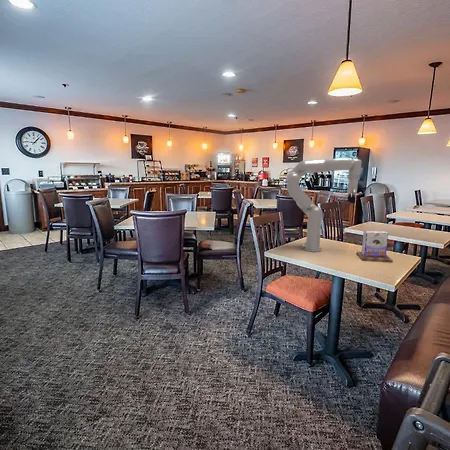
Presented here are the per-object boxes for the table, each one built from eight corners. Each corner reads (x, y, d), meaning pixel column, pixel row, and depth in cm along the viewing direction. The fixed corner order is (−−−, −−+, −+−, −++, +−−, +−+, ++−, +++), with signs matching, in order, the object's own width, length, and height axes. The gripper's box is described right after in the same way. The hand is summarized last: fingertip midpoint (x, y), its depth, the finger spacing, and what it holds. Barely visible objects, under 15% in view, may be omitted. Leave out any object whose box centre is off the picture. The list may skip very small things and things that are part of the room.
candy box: (382, 254, 201) (385, 230, 198) (386, 257, 195) (388, 232, 192) (361, 254, 202) (363, 230, 199) (364, 256, 196) (366, 232, 193)
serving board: (362, 260, 192) (362, 258, 192) (356, 253, 208) (356, 251, 208) (392, 262, 189) (392, 260, 189) (384, 255, 205) (384, 253, 204)
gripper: (346, 177, 215) (343, 200, 219) (350, 177, 199) (347, 203, 202) (357, 177, 214) (354, 201, 217) (362, 178, 197) (359, 204, 201)
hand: (351, 202), depth 210 cm, fingers open, 9 cm apart
